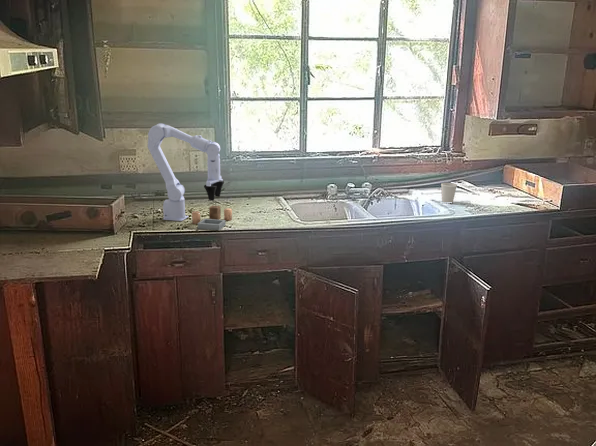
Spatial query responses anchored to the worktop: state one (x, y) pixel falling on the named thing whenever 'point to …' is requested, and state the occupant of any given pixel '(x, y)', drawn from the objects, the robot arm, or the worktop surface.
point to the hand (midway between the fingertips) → (214, 198)
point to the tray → (211, 224)
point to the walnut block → (215, 212)
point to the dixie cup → (448, 191)
